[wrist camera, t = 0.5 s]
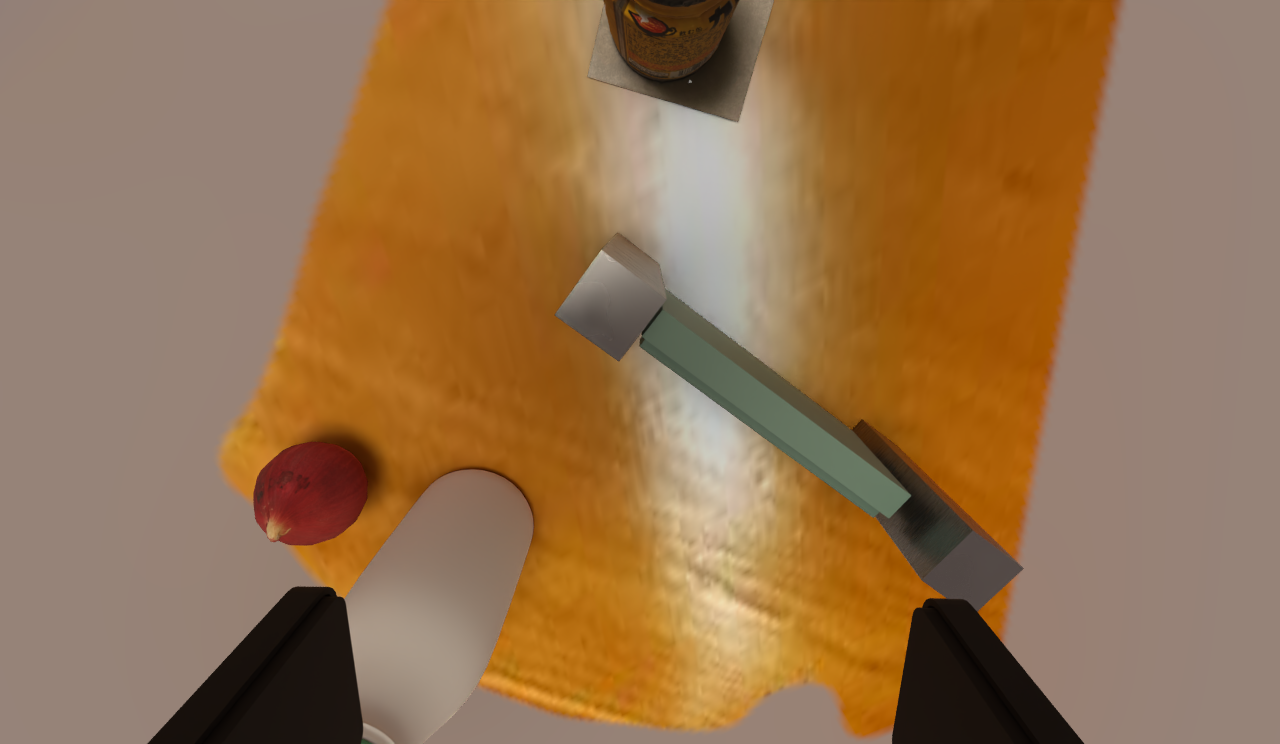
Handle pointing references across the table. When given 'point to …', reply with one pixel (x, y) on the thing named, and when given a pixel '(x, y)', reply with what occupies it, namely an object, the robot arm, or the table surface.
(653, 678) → the table surface
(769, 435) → the gate
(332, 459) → the onion
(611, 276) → the gate posts
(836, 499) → the table surface
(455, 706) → the milk bottle
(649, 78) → the condiment
